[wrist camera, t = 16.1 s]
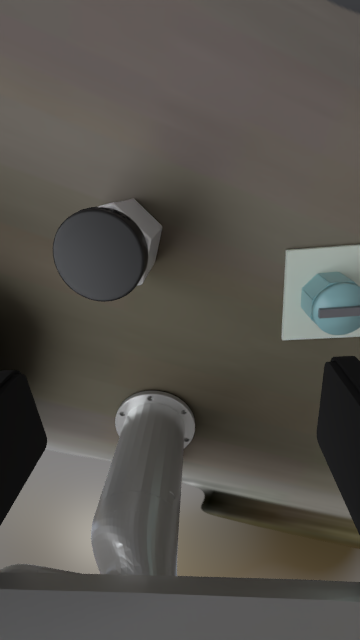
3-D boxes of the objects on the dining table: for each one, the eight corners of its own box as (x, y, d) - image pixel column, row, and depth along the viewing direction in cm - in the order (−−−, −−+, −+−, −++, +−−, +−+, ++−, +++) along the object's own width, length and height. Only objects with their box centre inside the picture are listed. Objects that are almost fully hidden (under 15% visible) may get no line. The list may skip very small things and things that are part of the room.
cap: (353, 270, 37) (378, 284, 32) (348, 316, 39) (369, 335, 34) (302, 274, 38) (318, 288, 33) (299, 319, 40) (314, 338, 35)
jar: (151, 190, 35) (129, 193, 24) (172, 258, 38) (161, 288, 27) (81, 213, 37) (30, 226, 26) (106, 277, 40) (70, 312, 29)
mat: (358, 334, 41) (360, 336, 40) (281, 338, 42) (282, 340, 41) (373, 243, 36) (375, 244, 36) (285, 249, 37) (287, 250, 37)
